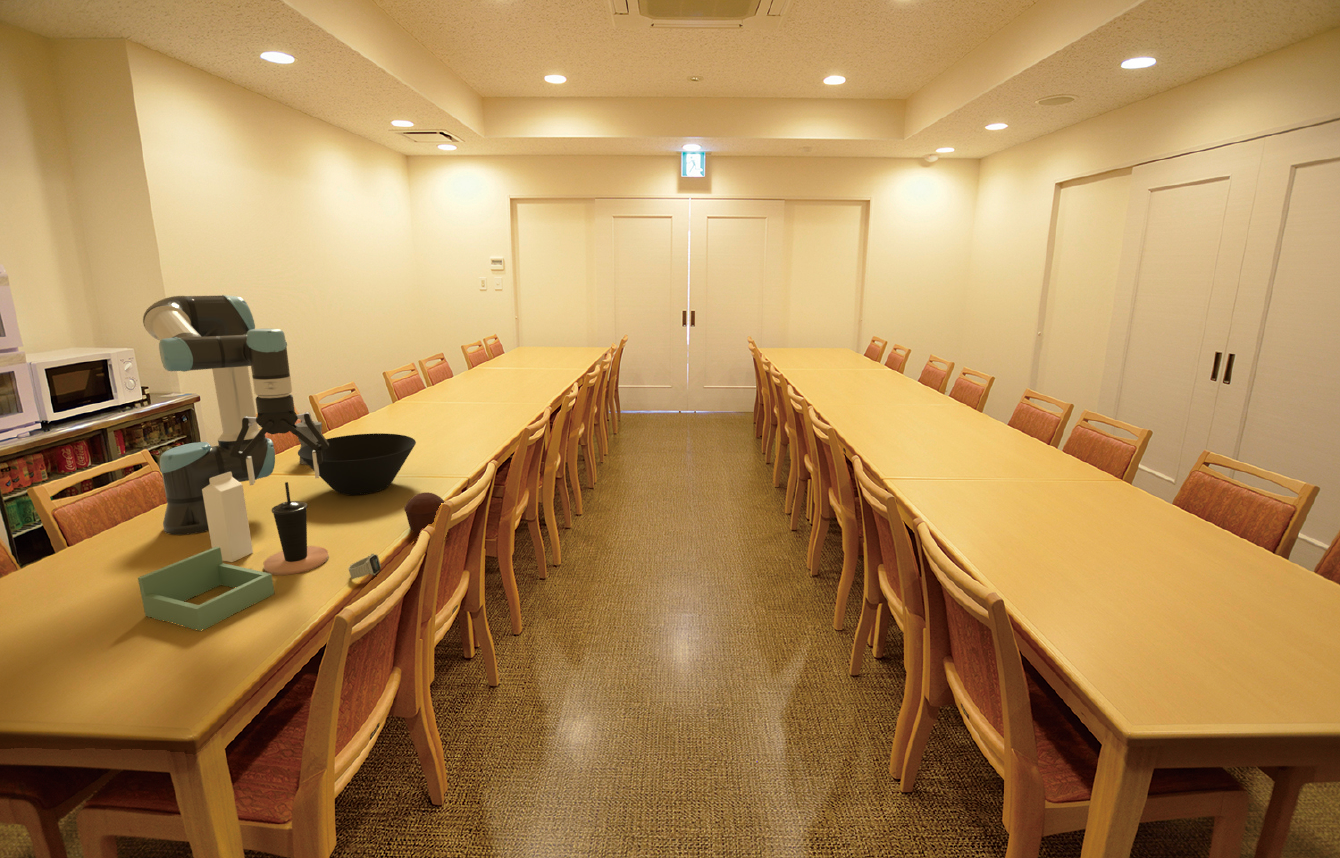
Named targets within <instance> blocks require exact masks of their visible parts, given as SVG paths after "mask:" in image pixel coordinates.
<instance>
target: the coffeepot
mask: <svg viewBox="0 0 1340 858" xmlns="http://www.w3.org/2000/svg"><path fill="white" fill-rule="evenodd" d="M312 421H313V422H314V424H315V425H316V427H317V428H318V429H319V431H320V432H321V433H322V421H316V420H312ZM295 425H296V426H297V427H299V429H300V430H302V431H303V432H304V433H305V434H307V435H308V436H309V437H310V438H311V439H313V440H314V441H315V442H317V441H318V440H317V438H316V437H315V436H314V434H313V433H312V432H311V430H310V429H309V428H308V426H307V425H306V422H305V423H304V422H302V421H301V420H300V422H298V423H297V422H296V423H295ZM297 440H298V442H299V443H300V448H299V450H300V449H301V448H302V447H304V446H306V445H307V444H306V443H305V442H303V441H302V440H301V439H300V438H298V437H297ZM298 463H299V464H301V465H304V466H305V465H306V466H307V465H308V464H307V463H306V462H305V461H304V460H303V459H302V458H301V457H300V456H299V462H298ZM308 466H309V465H308Z"/></svg>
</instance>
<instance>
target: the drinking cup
mask: <svg viewBox="0 0 1340 858" xmlns="http://www.w3.org/2000/svg"><path fill="white" fill-rule="evenodd" d="M284 487H285V495H286V501H284V502H281V503H279V504H277V505H275V506H273V507H272V508H271V510H270V511H271V513H272V514H273V517H274V521H275V525H276V529H277V533H278V537H279V540H280V544H281V550H282V551H283V554H284V558H285V560H286V561H288V562H295V561H300V560H303V559H305V558H306V557H307V546H308V529H307V528H308V527H307V526H308V525H307V523H308V520H307V517H308V515H307V510H308V509H307V508H308V503H307V502H305V501H298V500H291V495H290V487H289V482H288V481H287V482H284Z"/></svg>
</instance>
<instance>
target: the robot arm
mask: <svg viewBox="0 0 1340 858" xmlns="http://www.w3.org/2000/svg"><path fill="white" fill-rule="evenodd" d="M142 324H143V327H144V329H145V331H147V333H148V334H149V335H150V336H151V337H152V338H154V339H156V340H158V341H159V343H158V351H159V355H160V360H161V364H162V366H163V368H164V370H166V371H168V372H183V373H184V372H189V371H198V370H199V371H200V370H212V376H213V381H214V388H215V389H214V390H215V393H216V394H215V395H216V399H217V405H218V410H219V416H220V417H219V418H220V423H221V428H222V434H220V436H218V438H217V443H218V445H213V446H212V445H211V444H210V443H209V442H208V441H199V442H191V443H186V444H182V445H178V446H175V447H172V448H169V449H167V450H166V451H164V452H162V453H161V455H160V456H159V464H160V469H159V471H160V473H161V475H162V481H163V486H164V488H163V489H164V493H165V498H166V508H165V513H164V519H163V522H162V526H163V532H164V533H165V534H168V535H173V536H182V535H183V536H184V535H193V534H201V533H204V532H209V528H208V522H207V516H206V510H205V504H204V499H203V493H202V489H203V488H205V487H206V486H208V485H209V484H210V481H209V479H210V478H212V477H215V476H218V475H221V474H224V473H227V472H232V477H233V478H235V479H236V480H237V481H239V482H240V483H241V482H242V483H243V482H247V481H248V482H249V486H254V485H255V483H256V480H259V479H263V478H267V477H269V476H271V475H272V473H273V472H274V469H275V464H276V451H275V448H274V446H275V445H274V442H273V440H272V439H271V438H268V437H266V434H269V435H277V434H282V435H283V434H287V433H289V432H290V433H291V434H293V435H295V436H296V437H297V439H298V438H300V439H301V440H302V441H303V442H305V443H306V444H307V445H308V446H310V447H311V448H312V449H313V452H312V456H313V464H314V470H313V472H314V477H315V478H314V479H319V478H320V476H319V468H318V464H322V462H323V459H322V450H324V449H328V448H329V443H328V441H327V440H326V439H327V438H325V436H324V434H323V433H322V431H321V432H320V431H319V429H318V428H317V427H316V425H315V424H314V422H313V421H314V420H313V419H312V416H311V413H310V412H309V411H305V412H304V413H300V414H298V413H296V410H295V403H294V396H293V394H291V393H292V392H293V387H292V380H291V379H292V378H291V374H290V366H289V364H290V363H289V357H288V356H289V355H288V349H287V346H288V343H287V340H286V335H285V332H284V331H283V329H280V328H256V325H255V324H256V322H255V319H254V316H253V313H252V312H251V308H250V307H249V305H248V302H246V300H245V299H244V298H243V297H240V296H237V295H236V296H235V295H224V294H221V295H173V296H168V297H166V298H163V299H160V300H158V301H155V302H154V303H152V304H151V305H150V306H149V307H148V308H147V309H146V310H145V312H144V314H143V316H142ZM249 367H250V370H251V376H252V383H253V389H252V383H251V376H250V371H249ZM252 390H253V391H254V394H255V395H256V397H255V403H254V396H253V391H252ZM255 404H256V405H255ZM255 407H256V408H255ZM256 412H257V414H256ZM298 420H300V422H301V421H302V422H304V423H305V422H306V425H307V426H308V428H309V429H310V430H311V432H312V433H313V434H314V436H315V437H316V438H317V440H318V441H319V442H320V444H321V445H319V444H318V443H316V442H315V441H314V440H313V439H311V438H310V437H309V436H308V435H307V434H305V433H304V432H303V431H302V430H300V429H299V427H297V426H296V424H297V422H298ZM259 426H260V427H261V428H260V429H259Z"/></svg>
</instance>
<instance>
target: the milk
mask: <svg viewBox="0 0 1340 858" xmlns="http://www.w3.org/2000/svg"><path fill="white" fill-rule="evenodd" d="M209 481H210V484H209V485H208V486H206V487H205V488H203V489H202V493H203V499H204V504H205V510H206V516H207V522H208V528H209V530H208V532H209V533H208V534H209V538H210V543H211V548H214V547H220V549H221V555H222V561H223V562H230V563H234V562H236V561H238V560H241V559H242V558H244V557H247V556H249V555H251V554H253V553H254V550H253V543H252V542H253V541H252V537H251V531H250V530H251V529H250V524H249V517H248V510H247V506H246V504H247V503H246V498H245V492H244V491H245V490H244V486H243V483H241V482H239V481H237V480H236V479H235V478H233V477H232V472H227V473H224V474H221V475H218V476H215V477H212V478H210V479H209Z"/></svg>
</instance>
